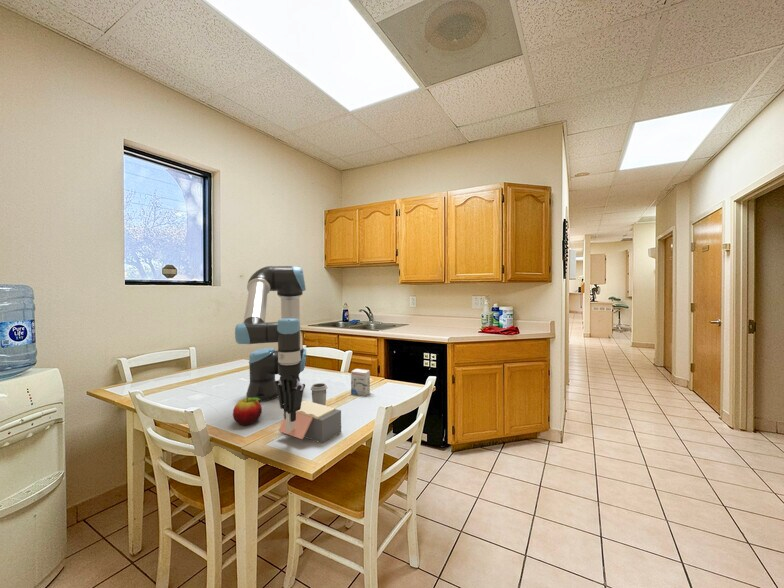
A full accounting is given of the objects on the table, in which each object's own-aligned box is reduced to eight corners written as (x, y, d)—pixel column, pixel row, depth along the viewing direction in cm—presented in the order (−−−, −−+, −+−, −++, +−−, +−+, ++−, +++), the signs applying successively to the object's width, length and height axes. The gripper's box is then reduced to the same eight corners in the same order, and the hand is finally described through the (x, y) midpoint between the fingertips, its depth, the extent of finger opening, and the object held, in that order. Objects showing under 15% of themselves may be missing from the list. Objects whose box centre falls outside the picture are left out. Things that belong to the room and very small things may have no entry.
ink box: (350, 394, 164) (350, 370, 163) (355, 390, 168) (355, 368, 168) (365, 396, 161) (365, 372, 160) (370, 393, 165) (370, 370, 165)
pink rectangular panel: (279, 431, 118) (278, 430, 118) (289, 411, 122) (288, 410, 122) (302, 439, 112) (301, 438, 112) (313, 418, 116) (312, 417, 116)
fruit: (241, 416, 138) (240, 393, 137) (266, 416, 137) (266, 393, 137) (227, 428, 127) (227, 402, 126) (255, 428, 127) (254, 403, 126)
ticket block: (284, 429, 125) (283, 406, 125) (303, 420, 134) (303, 398, 133) (322, 443, 115) (322, 417, 114) (341, 431, 123) (340, 408, 123)
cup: (312, 416, 137) (311, 388, 136) (309, 411, 143) (309, 384, 142) (329, 414, 140) (328, 386, 139) (325, 408, 146) (325, 381, 145)
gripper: (268, 362, 114) (269, 429, 115) (294, 367, 107) (295, 438, 108) (285, 358, 121) (286, 422, 121) (310, 362, 114) (312, 429, 114)
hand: (290, 429), depth 114 cm, fingers closed
